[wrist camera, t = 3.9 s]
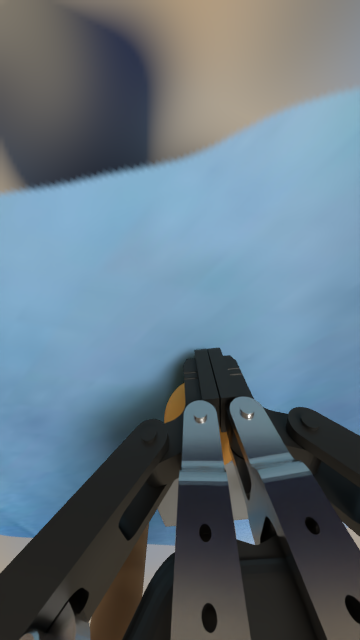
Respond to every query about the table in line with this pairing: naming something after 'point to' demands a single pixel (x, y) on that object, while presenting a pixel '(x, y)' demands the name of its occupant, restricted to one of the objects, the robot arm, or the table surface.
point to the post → (121, 596)
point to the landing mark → (237, 499)
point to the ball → (177, 407)
